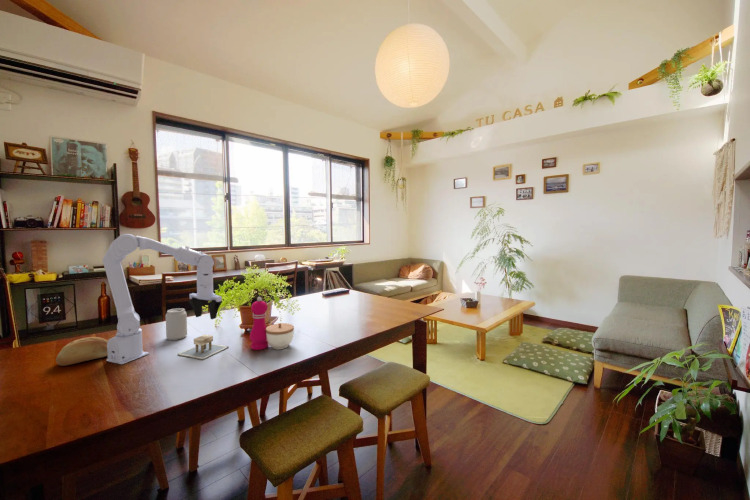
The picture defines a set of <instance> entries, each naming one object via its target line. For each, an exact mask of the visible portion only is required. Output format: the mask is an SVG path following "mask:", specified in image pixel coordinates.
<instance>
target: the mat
mask: <svg viewBox="0 0 750 500" xmlns="http://www.w3.org/2000/svg"><path fill="white" fill-rule="evenodd" d="M227 349H229V345H228V346H226V345H222V344H221V345H220V344H215V343H212V349H209V343H207V344H206V348H205V349H204V353H201V345H198V352H196V345H195V346H192V347H191V348H188V349H186V350H184V351H181V352H179V353H177V356H180V357H186V358H190V359H196V360H200V361H205V360H206V359H208V358H210V357H213V356H214V355H216V354H218V353H220V352H223V351H225V350H227Z"/></svg>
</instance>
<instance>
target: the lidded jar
mask: <svg viewBox="0 0 750 500" xmlns="http://www.w3.org/2000/svg"><path fill="white" fill-rule="evenodd" d="M266 327H267V328H266V338H267V342H268V346H271V348H272V349H273V350H283V349H284V350H285V349H286V348H288V346H289V345H290V344H291V343H292V341H293V339H294V332H295V331H294V330H295V326H294V325H293V324H292V323H282V322H278V323H274V324H271V325H268V326H266Z"/></svg>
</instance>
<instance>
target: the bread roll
mask: <svg viewBox="0 0 750 500" xmlns="http://www.w3.org/2000/svg"><path fill="white" fill-rule="evenodd" d="M108 340H109V339H105V338H103V337H98V336H87V337H81V338H78V339H75V340H73V341H70V342H68V344H66V345H65V346H63V347H62V348H61V350H60V351H59V353H58V354H57V356H56V358H55V362H56V364H57V365H58V366H63V367H64V366H69V365H70V366H71V365H74V364H79V363H83V362H86V361H90V360H94V359H100V358H104V357H108V353H107V342H108Z"/></svg>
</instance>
